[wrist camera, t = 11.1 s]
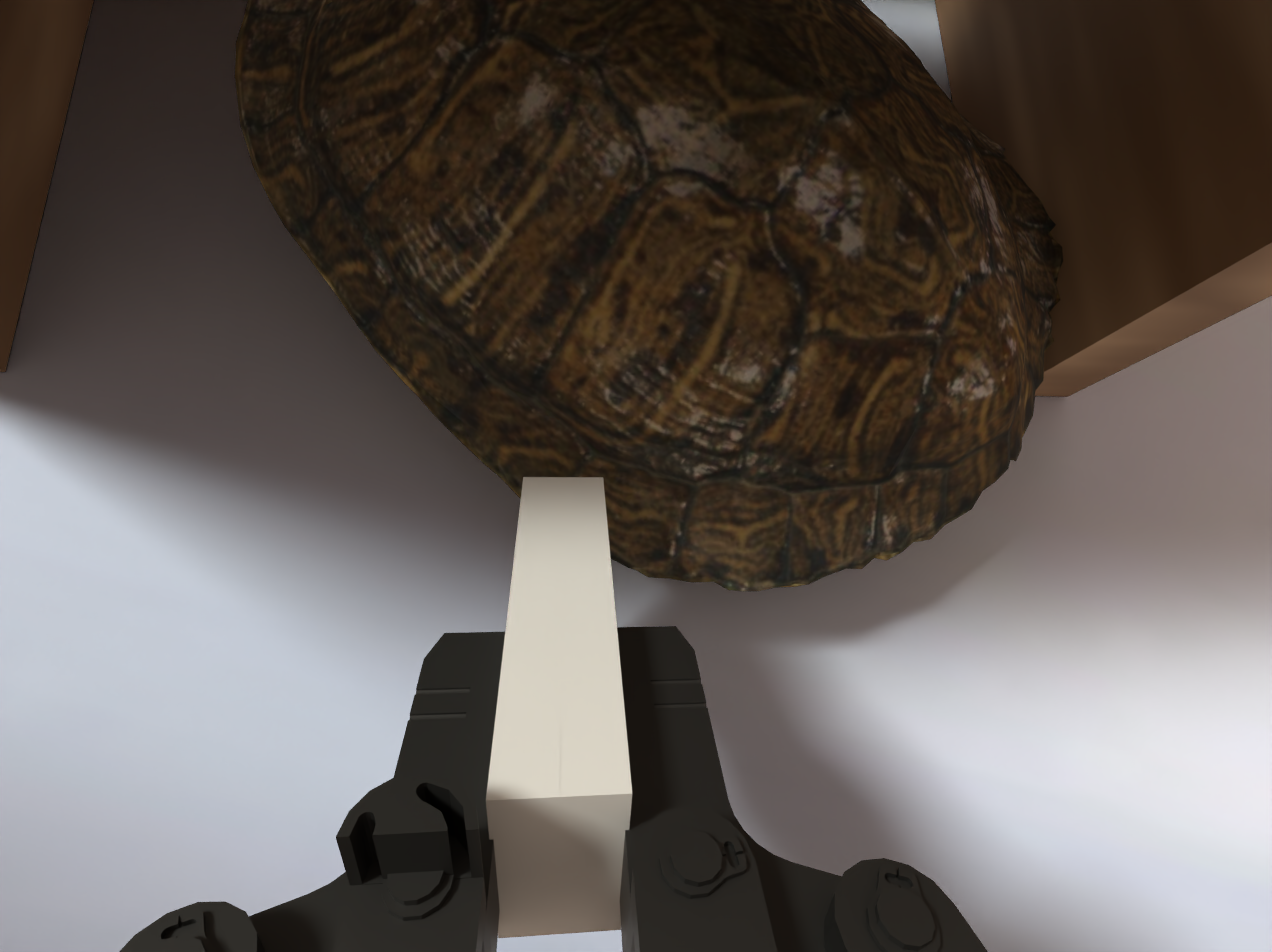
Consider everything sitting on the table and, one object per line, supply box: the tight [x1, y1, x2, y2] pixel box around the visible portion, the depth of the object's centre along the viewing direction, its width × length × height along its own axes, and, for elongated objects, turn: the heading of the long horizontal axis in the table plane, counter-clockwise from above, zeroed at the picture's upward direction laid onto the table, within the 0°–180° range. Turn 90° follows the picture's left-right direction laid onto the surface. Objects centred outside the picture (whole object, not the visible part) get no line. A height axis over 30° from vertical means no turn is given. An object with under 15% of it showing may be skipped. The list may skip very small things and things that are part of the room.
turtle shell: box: [235, 0, 1063, 591], centre depth 16 cm, size 16×9×20 cm
